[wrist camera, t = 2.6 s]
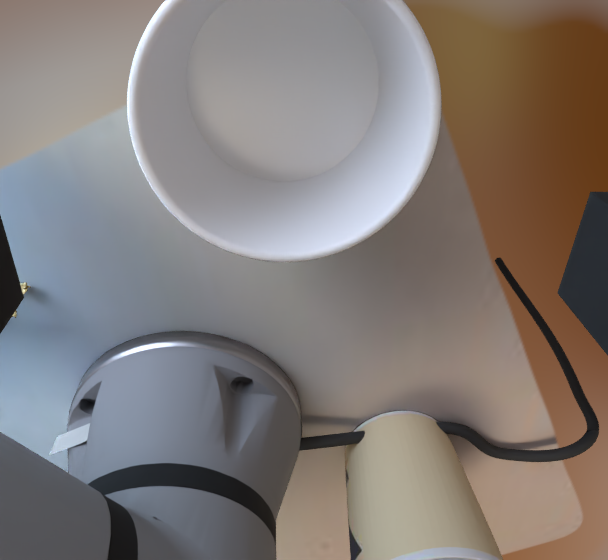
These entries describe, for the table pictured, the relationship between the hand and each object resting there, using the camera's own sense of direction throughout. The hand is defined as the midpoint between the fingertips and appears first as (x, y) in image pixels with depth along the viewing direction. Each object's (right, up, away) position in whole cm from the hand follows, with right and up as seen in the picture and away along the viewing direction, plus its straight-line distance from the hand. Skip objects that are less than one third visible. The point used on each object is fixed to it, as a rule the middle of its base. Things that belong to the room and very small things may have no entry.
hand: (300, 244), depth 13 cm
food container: (-1, +9, +14) cm, 17 cm away
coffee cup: (+7, -13, +29) cm, 32 cm away
